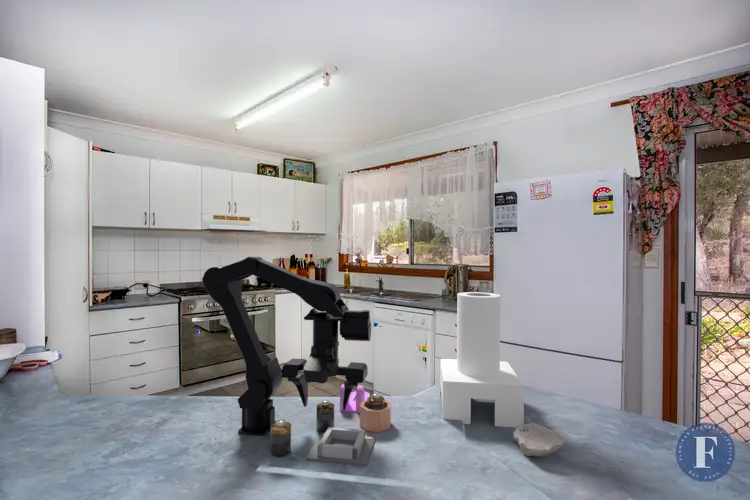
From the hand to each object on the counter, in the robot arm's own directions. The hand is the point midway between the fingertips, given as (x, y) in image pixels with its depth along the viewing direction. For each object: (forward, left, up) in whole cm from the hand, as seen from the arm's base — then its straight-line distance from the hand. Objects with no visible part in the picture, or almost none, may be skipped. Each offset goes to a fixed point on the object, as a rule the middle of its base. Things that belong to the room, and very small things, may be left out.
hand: (324, 407), depth 87 cm
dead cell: (+11, +4, -5) cm, 13 cm away
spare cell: (-6, -11, -6) cm, 14 cm away
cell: (0, 0, -6) cm, 6 cm away
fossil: (+46, 0, -6) cm, 46 cm away
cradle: (+6, -8, -6) cm, 11 cm away
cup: (+11, +4, -6) cm, 13 cm away
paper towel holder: (+36, +19, -6) cm, 41 cm away
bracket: (+4, +16, -6) cm, 18 cm away
